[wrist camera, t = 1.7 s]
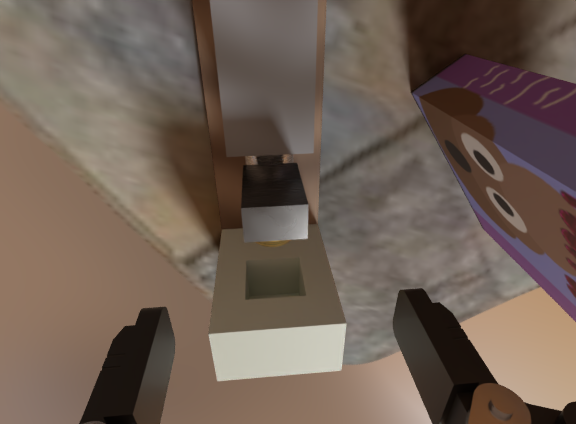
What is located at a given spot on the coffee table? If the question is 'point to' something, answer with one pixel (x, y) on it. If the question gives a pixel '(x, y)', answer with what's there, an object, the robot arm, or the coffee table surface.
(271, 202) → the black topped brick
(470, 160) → the cereal box
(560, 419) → the robot arm
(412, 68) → the coffee table surface
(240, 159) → the board
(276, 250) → the socket block
